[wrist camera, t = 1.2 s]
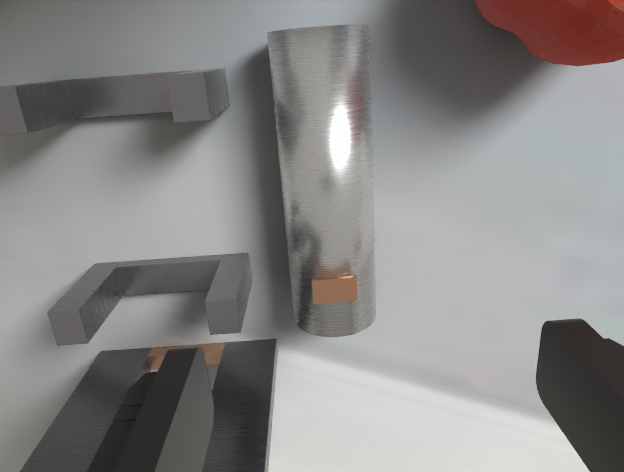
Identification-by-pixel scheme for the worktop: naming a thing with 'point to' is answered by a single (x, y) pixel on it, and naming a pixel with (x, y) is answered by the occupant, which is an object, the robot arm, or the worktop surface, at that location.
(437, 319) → the worktop surface
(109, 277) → the grey u-shaped bracket
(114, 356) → the frame
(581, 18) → the vegetable
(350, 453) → the worktop surface
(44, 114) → the grey metal blocks
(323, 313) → the tube
